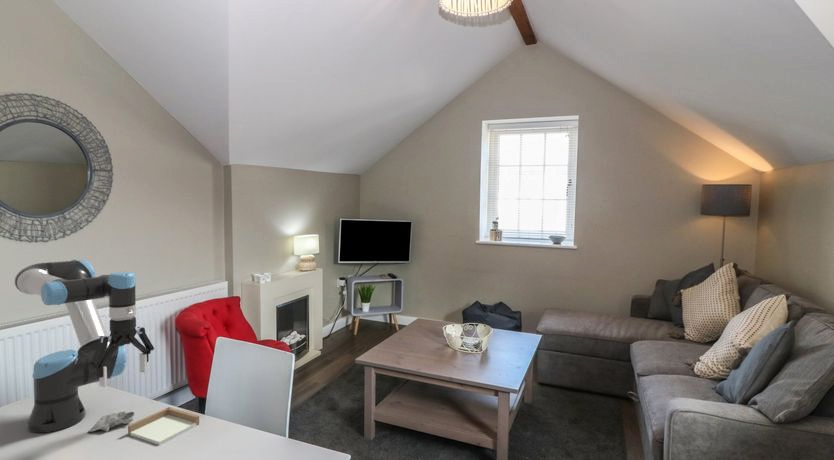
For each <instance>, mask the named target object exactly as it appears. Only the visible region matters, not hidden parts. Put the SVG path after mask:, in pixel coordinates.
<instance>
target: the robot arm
mask: <svg viewBox="0 0 834 460" xmlns="http://www.w3.org/2000/svg"><path fill="white" fill-rule="evenodd" d="M93 267H94V266H92V264H91V263H90V262H89V261H87V260H83V259H81V260H79V259H78V260H76V259H72V260H68V261H67V260H66V261H64V260H63V261H54V262H52V261H51V262H39V263H34V264H31V265H28V266H26V267H24V268H23V269H21V270H20V271H19V272H18V273H17V274H16V276H15V277H14V285H15V287H16V289H17V291H20V292H21V293H24V294H26V295H31V296H32V295H37V296H40V298H41V301H42V302H43V303H42V304H43V305H45V306H59V305H63V304H65V306H66V309H67V312H68V315H69V318H70V320H71V323H72V326H73V329H74V331H75V334H76V337H77V339H78V342H79V345H80V346H79V348H78V349H77V350H75V349H66V350H59V351H56V352H55V351H54V352H51V353H49V354H47V355H44V356H42V357H40V358H39V359H37V360H36V361H35V363H34V364H33V372H32V378H33V396H34V397H33V400H34V404H33V407H32V410H31V412H30V416H29V418H28V421H27V429H28V431H29V432H31V433H32V432H33V433H50V432H55V431H59V430H62V429H66V428H69V427H71V426H74V425H75V424H77V423H80V422H81V421H83V419H84V418H85V417H86V409H85V407H84V405H83V402H82V401H81V398H80V396H79V387H82V386H86V385H90V384H93V383H97V382H98V383H99V387H102V388H106V387H108V380H109V379H112V378H116V377H118V376H121V375H122V374H123V373H124V372H125V370H126V366H127V359H128V357H127V356H128V355H127V349H126V345H130V344H131V345H133V346H134V347H135V348H136V349H137V350H138V351H140V352H141V353H139V372H140V373H143V374H146V373H147V372H148V362H149V356H150V354H151V352H152V351H154V350H155V347H154V346H153V343H152V342H151V340H150V338H149V337H148V335H147V334H146V329H145V327H142V326H138V327H137V318H136V317H135V316H136V315H137V314H136V313H137V310H136V309H137V308H136V307H137V305H136V301H137V300H136V283H137V282H136V276H135V273H134V272H132V271H120V272H119V271H117V272H112V273H110V274H101V275H98V276H96V275H95V269H94V268H93ZM105 298H106V299H107V298H108V307H109V309H108V313H109V314H108V318H109V319H110V320H109V332H110V334H109V335H108V334H107V331H106V329H105V326H104V323H103V321H102V318H101V316H100V313H99V310H98V308H97V305H96V304H95V303H96V302H95V301H94V300H99V299H100V300H101V299H105ZM136 327H137V328H136ZM136 335H137V336H138V337H139V339H140V340H141V342H142V343H141V342H140V341H139V340H138V339H137V338H136Z"/></svg>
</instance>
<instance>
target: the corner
mask: <svg viewBox="0 0 834 460" xmlns="http://www.w3.org/2000/svg"><path fill="white" fill-rule="evenodd" d="M198 425H200V415H199V414H195V413H194V414H193V413H191V412H187V411H185V410H181V409H176V408H174V407H165V408H163V409H162V410H160V411H157V412H154V413H153V414H151V415H150V414H149V416H146V417H143V418H142V419H139V420H138V421H136V422H134V423H131V424H128V425H127V434H128V435H129V436H132V437H134V438H137V439H140V440H142V441H146V442H149V443H153V444H156V445H158V446H161V445H162V444H164V443H167V442H168V441H170V440H172V439H174V438H176V437H177V436H179V435H181V434H183V433H185V432H188V431H189V430H190V429H193V428H194V427H197V426H198Z"/></svg>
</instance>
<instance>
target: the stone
mask: <svg viewBox="0 0 834 460" xmlns="http://www.w3.org/2000/svg"><path fill="white" fill-rule="evenodd" d="M134 416H135V412H134V411H119V412H117V413H114V412H113V413H111V414H108V415H103V416H101V418H99V419H98V421H97V422H96V423H95V424H94V426H93V427H91V428H90V429H89V430H88V431H87V433H90V432H95V431H98V430H101V431H103V432H106V433H107V432H109V431H110V429H112V428H114V427H115V426H117V425H120V424H123V425H124V424H129V423H132V422H133V420H134Z"/></svg>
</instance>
